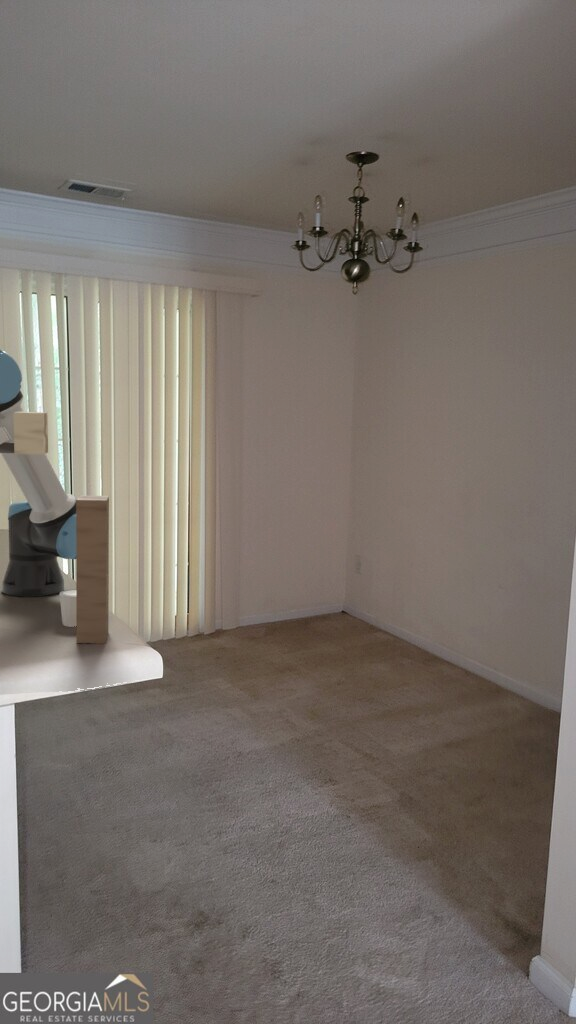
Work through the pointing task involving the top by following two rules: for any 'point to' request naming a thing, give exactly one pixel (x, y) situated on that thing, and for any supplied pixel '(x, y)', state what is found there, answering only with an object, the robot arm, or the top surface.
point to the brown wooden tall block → (92, 568)
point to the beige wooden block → (28, 434)
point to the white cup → (68, 607)
